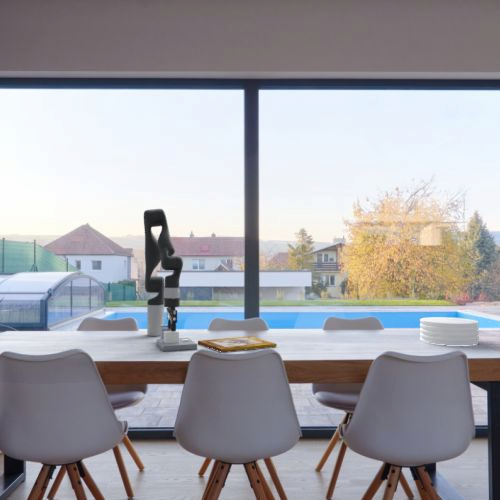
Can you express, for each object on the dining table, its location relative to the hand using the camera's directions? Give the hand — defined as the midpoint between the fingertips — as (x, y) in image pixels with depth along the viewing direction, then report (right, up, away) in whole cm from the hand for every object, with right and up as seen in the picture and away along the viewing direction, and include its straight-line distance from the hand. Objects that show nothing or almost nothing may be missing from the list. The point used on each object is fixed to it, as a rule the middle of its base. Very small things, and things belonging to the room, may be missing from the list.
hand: (171, 330), depth 228 cm
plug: (0, -8, 0) cm, 8 cm away
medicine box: (-5, -9, +16) cm, 19 cm away
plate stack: (+142, -9, +15) cm, 143 cm away
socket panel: (+2, -8, 0) cm, 8 cm away
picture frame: (+32, -9, +5) cm, 33 cm away
